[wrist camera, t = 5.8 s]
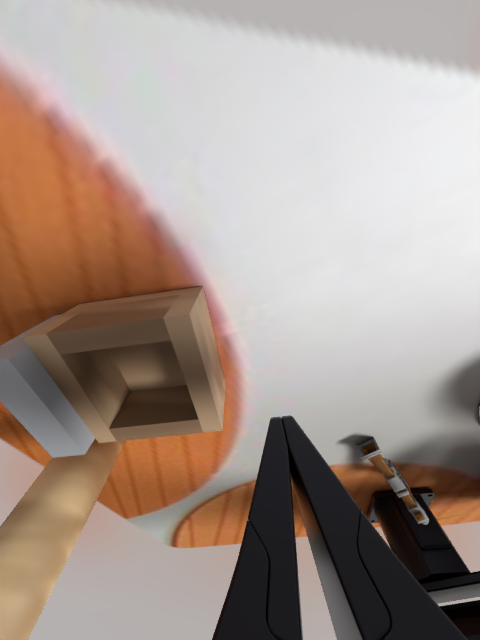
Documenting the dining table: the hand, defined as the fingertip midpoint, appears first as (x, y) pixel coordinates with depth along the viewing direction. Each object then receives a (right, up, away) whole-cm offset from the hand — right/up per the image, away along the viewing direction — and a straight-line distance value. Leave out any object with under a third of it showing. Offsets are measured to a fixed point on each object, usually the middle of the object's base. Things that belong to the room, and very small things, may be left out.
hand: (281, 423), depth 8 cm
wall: (-12, +1, +7) cm, 14 cm away
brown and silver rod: (+13, -9, +13) cm, 20 cm away
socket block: (-7, +2, +7) cm, 10 cm away
